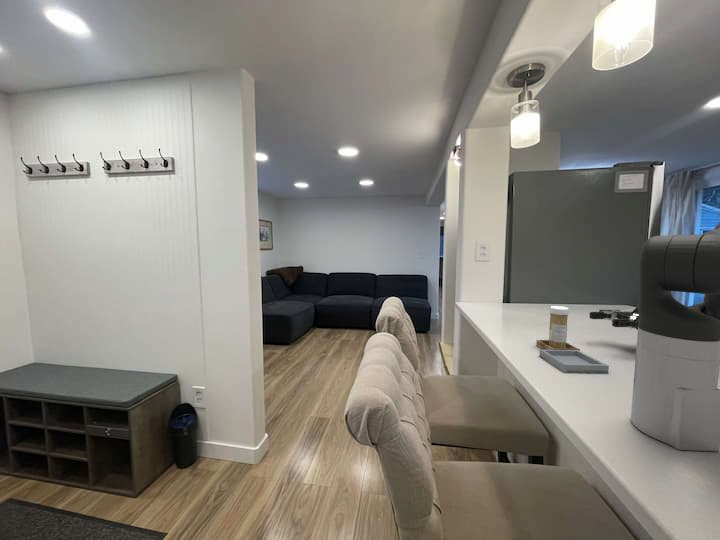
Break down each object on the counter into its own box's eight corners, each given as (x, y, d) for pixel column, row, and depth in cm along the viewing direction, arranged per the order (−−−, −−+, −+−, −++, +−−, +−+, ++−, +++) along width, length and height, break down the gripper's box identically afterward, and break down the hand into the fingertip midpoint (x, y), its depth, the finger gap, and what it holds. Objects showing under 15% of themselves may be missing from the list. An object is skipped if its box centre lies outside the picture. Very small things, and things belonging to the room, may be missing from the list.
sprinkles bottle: (550, 347, 89) (553, 304, 88) (568, 351, 85) (570, 307, 84) (545, 350, 86) (547, 306, 85) (563, 354, 82) (566, 309, 81)
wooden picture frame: (579, 355, 81) (579, 349, 81) (551, 355, 82) (552, 348, 82) (561, 346, 89) (561, 340, 89) (536, 346, 90) (536, 339, 89)
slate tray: (608, 373, 70) (608, 365, 70) (564, 372, 71) (564, 364, 70) (577, 356, 81) (578, 350, 80) (539, 356, 81) (539, 349, 81)
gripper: (637, 301, 90) (584, 301, 91) (686, 312, 76) (623, 312, 77) (635, 324, 91) (582, 324, 92) (683, 339, 77) (621, 339, 77)
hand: (601, 319), depth 84 cm, fingers open, 8 cm apart
